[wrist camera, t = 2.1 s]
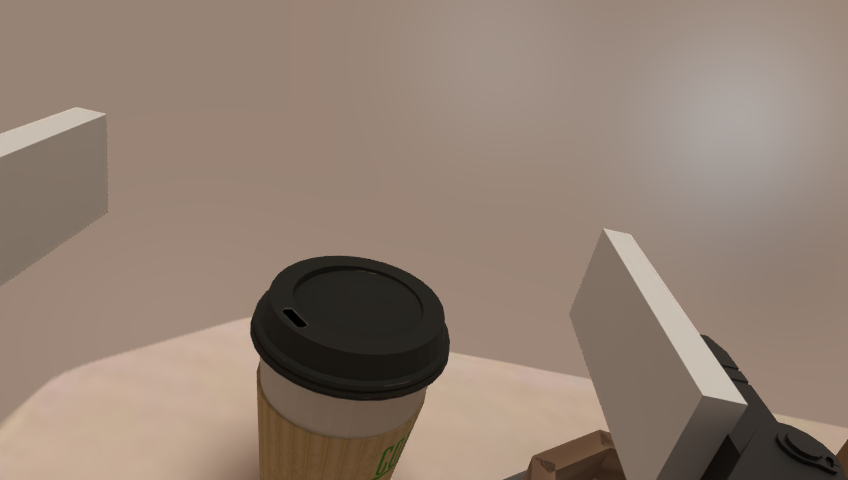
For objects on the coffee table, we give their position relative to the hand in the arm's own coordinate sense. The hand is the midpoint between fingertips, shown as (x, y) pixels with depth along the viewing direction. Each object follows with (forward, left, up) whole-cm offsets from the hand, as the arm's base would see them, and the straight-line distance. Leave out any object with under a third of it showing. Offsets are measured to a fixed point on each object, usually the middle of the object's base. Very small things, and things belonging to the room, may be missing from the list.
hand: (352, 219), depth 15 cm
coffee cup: (+8, -6, -24) cm, 26 cm away
